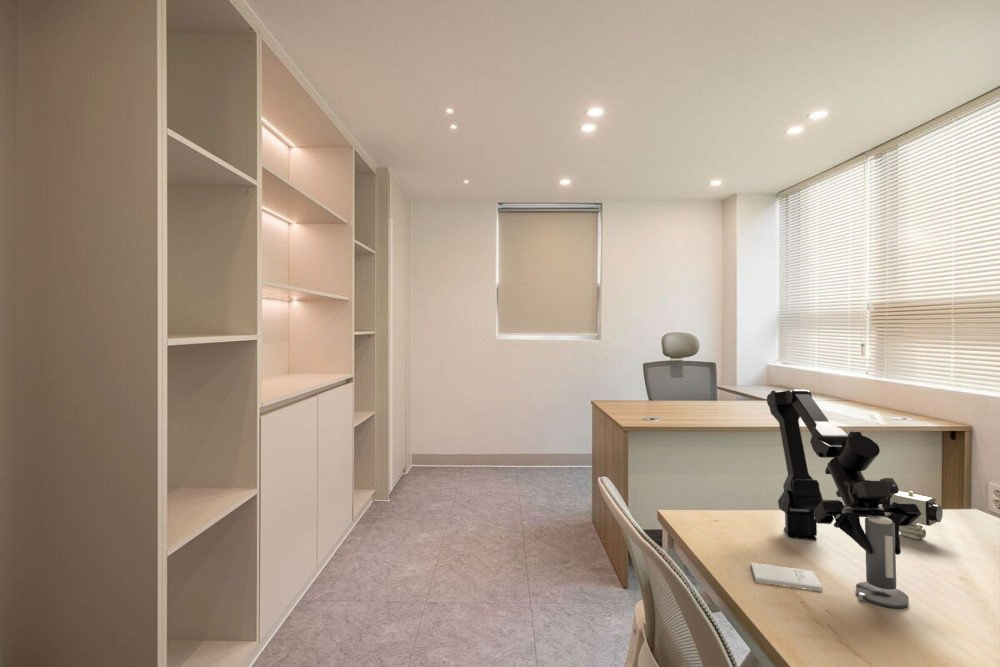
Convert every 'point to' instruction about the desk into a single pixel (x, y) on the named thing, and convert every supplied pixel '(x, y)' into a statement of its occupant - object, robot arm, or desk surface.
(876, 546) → the dark gray cylinder
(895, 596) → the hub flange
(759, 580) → the external hard drive
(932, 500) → the pneumatic valve
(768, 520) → the desk surface
